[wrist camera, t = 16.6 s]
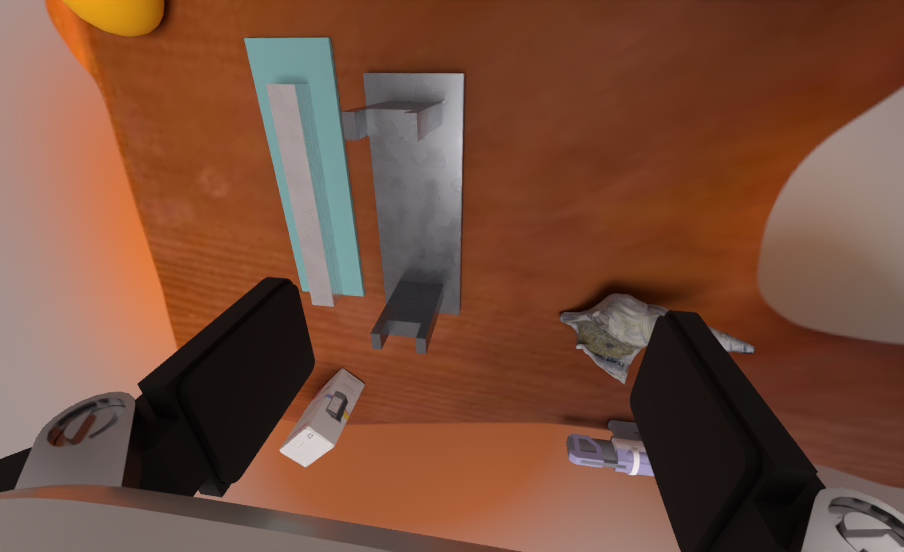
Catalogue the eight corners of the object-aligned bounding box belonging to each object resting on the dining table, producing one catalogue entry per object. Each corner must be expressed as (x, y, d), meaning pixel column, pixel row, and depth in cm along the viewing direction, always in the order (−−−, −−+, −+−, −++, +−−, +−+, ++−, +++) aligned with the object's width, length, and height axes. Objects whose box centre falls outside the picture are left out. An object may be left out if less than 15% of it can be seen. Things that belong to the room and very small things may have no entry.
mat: (247, 38, 37) (244, 38, 37) (331, 38, 36) (328, 37, 36) (304, 288, 52) (302, 291, 52) (364, 294, 51) (363, 296, 50)
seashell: (564, 277, 45) (576, 326, 37) (712, 285, 43) (762, 339, 34) (554, 340, 50) (563, 397, 41) (687, 351, 48) (725, 412, 39)
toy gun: (751, 454, 55) (785, 510, 48) (560, 431, 59) (566, 479, 52) (771, 422, 51) (811, 477, 45) (567, 399, 55) (574, 446, 48)
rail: (282, 83, 38) (265, 84, 36) (309, 83, 38) (294, 84, 35) (322, 292, 51) (312, 304, 49) (343, 294, 51) (334, 306, 48)
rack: (368, 72, 37) (308, 73, 26) (465, 73, 36) (444, 74, 25) (389, 302, 51) (356, 364, 40) (460, 308, 50) (446, 374, 39)
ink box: (339, 406, 64) (305, 470, 53) (315, 390, 62) (276, 452, 52) (367, 383, 60) (336, 447, 50) (342, 365, 59) (306, 427, 48)
